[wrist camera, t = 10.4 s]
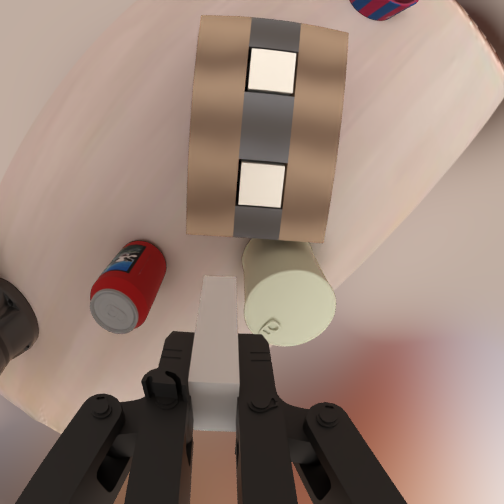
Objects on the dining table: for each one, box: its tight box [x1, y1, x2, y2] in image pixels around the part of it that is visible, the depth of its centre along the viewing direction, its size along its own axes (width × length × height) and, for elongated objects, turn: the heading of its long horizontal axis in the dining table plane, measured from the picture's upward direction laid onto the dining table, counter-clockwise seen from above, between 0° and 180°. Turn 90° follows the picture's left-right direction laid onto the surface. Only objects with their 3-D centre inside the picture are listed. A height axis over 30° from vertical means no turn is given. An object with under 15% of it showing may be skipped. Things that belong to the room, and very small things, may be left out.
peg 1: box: [247, 48, 296, 96], centre depth 27 cm, size 4×4×7 cm
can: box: [242, 238, 336, 346], centre depth 34 cm, size 9×9×12 cm
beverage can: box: [90, 241, 166, 334], centre depth 33 cm, size 7×7×12 cm
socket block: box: [186, 15, 349, 243], centre depth 29 cm, size 22×14×7 cm, turn 175°
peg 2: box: [238, 159, 285, 208], centre depth 31 cm, size 4×4×7 cm
